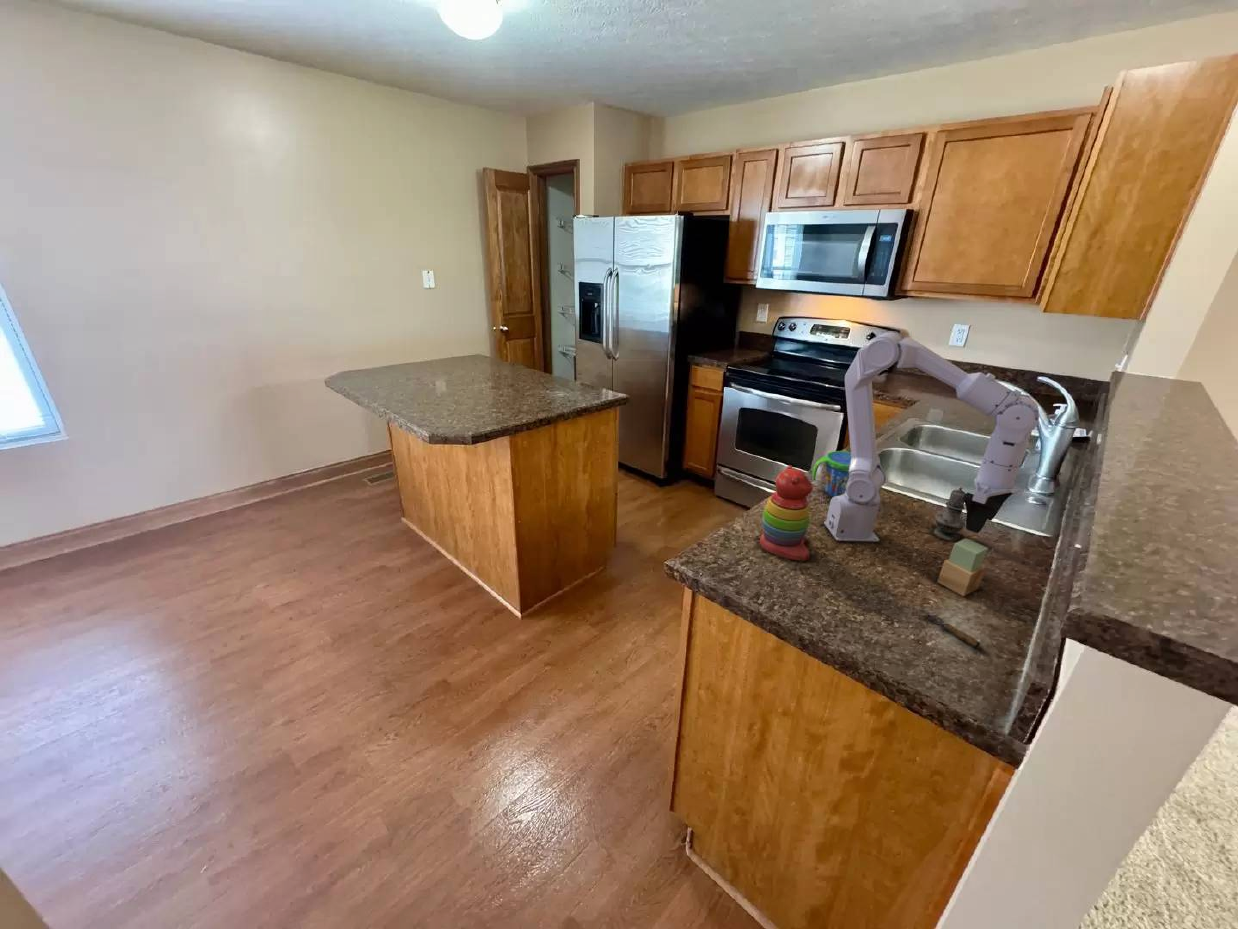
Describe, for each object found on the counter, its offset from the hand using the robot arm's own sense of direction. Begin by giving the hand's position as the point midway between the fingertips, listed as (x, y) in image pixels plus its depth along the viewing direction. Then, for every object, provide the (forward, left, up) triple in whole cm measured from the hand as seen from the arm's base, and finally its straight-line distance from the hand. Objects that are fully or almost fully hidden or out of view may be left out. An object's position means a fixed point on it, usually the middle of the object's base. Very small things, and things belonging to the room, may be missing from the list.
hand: (979, 524), depth 101 cm
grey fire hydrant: (+4, +13, -10) cm, 17 cm away
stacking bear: (-35, +7, -10) cm, 37 cm away
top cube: (-5, -6, -5) cm, 10 cm away
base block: (-5, -6, -10) cm, 13 cm away
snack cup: (-13, +32, -10) cm, 36 cm away
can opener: (-14, -19, -10) cm, 26 cm away
